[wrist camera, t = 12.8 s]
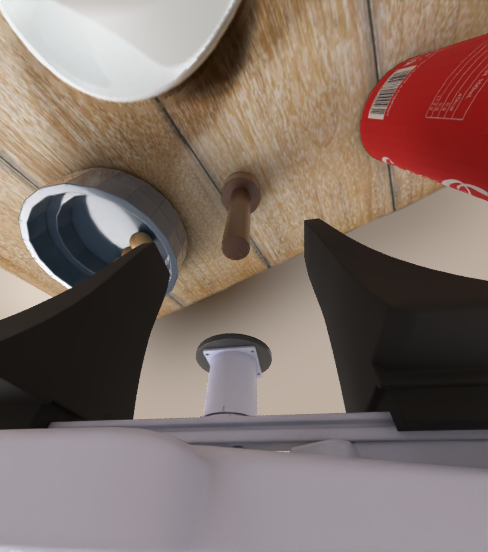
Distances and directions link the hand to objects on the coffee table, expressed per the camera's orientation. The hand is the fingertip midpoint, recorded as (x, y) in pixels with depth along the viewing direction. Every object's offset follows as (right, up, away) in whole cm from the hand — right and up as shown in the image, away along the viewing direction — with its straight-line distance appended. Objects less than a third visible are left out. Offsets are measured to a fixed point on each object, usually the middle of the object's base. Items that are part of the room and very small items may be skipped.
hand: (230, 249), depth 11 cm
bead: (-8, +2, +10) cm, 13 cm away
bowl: (-11, +3, +11) cm, 16 cm away
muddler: (0, +6, +8) cm, 10 cm away
